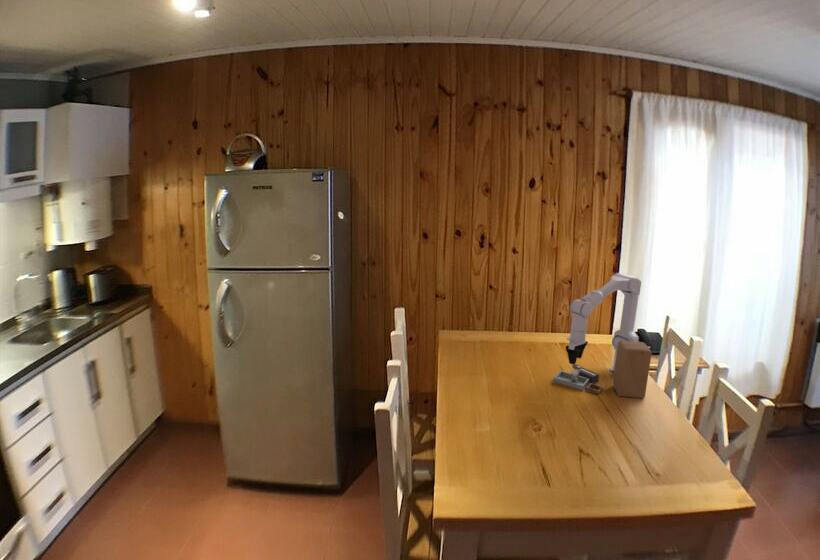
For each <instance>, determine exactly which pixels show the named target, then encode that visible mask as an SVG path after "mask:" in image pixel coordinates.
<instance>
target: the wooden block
mask: <svg viewBox="0 0 820 560" xmlns="http://www.w3.org/2000/svg"><path fill="white" fill-rule="evenodd" d="M651 358H652V350H651V349H650V348H649V347H648V345H647V344H646V343H645V342H643V341H639V342H632V341H619V342H618V348H617V356H616V363H615V371H613V377H612V378H613V380H612V386H613V388H614V390H615V392H616V394H617V396H619V397H624V398H626V397H627V398H635V399H645V398H646V392H647V386H648V385H647V384H648V380H649V379H648V378H649V372H650V366H651Z"/></svg>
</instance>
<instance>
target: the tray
mask: <svg viewBox="0 0 820 560" xmlns="http://www.w3.org/2000/svg"><path fill="white" fill-rule="evenodd" d="M571 376H572V372H571V373H570V372H568V371H564V370H559V372H558V373H557V374H556V375H554V377H553V380H552V382H553V384H557V385H561V386H563V387H567V388H571V389H573V390H577V391H581V392H583V391H584V390H586V387H587V386H588V385H589V384H590V383H589V378H585V377H582V376H579V378H578V383H573V382H571Z"/></svg>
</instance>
